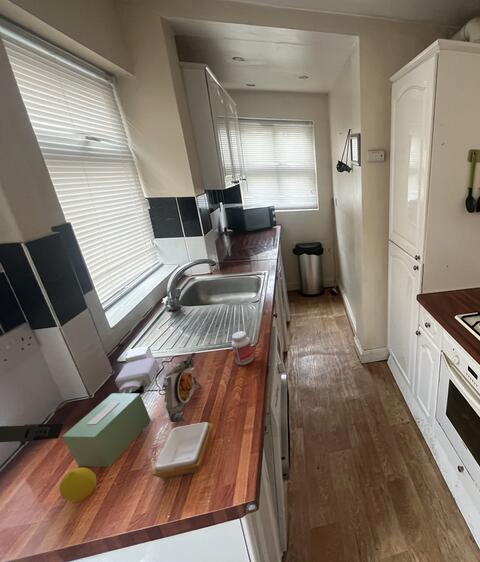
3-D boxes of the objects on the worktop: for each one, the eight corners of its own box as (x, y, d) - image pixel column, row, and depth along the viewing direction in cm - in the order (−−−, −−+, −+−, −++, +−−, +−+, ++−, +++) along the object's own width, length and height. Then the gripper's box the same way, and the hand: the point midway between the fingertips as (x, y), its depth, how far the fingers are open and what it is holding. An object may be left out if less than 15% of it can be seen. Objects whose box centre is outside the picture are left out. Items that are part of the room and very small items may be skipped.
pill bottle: (257, 356, 115) (251, 330, 111) (247, 366, 109) (241, 340, 105) (242, 354, 116) (236, 329, 112) (232, 364, 110) (225, 338, 106)
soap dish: (176, 440, 81) (171, 425, 79) (216, 432, 83) (212, 418, 81) (156, 485, 70) (149, 470, 68) (202, 476, 72) (197, 460, 70)
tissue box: (78, 466, 75) (61, 436, 71) (124, 420, 88) (111, 392, 84) (110, 466, 74) (94, 436, 71) (151, 420, 87) (139, 393, 84)
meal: (187, 421, 87) (174, 384, 82) (171, 423, 86) (157, 386, 81) (205, 385, 101) (195, 351, 96) (191, 386, 100) (180, 353, 95)
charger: (111, 403, 94) (129, 374, 107) (146, 395, 97) (159, 367, 110) (105, 391, 92) (124, 362, 105) (141, 383, 95) (155, 356, 108)
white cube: (130, 372, 108) (124, 358, 106) (134, 363, 113) (129, 349, 111) (150, 367, 110) (145, 353, 108) (153, 358, 115) (148, 345, 113)
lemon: (64, 514, 65) (47, 489, 62) (75, 490, 69) (60, 465, 66) (96, 503, 67) (82, 478, 64) (105, 480, 71) (92, 456, 68)
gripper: (-254, 474, 40) (-45, 454, 60) (-71, 471, 40) (80, 451, 59) (-212, 412, 43) (-26, 412, 63) (-41, 408, 42) (93, 409, 62)
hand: (26, 431), depth 61 cm, fingers open, 13 cm apart
